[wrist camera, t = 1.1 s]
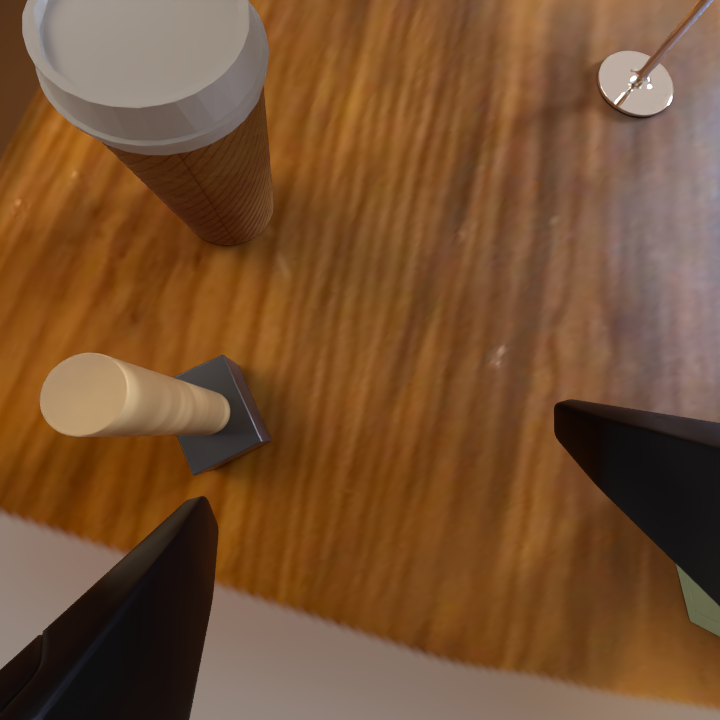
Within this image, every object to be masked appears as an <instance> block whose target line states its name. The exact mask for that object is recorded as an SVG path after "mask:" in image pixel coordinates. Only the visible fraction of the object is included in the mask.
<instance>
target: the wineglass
mask: <svg viewBox="0 0 720 720" xmlns="http://www.w3.org/2000/svg"><path fill="white" fill-rule="evenodd" d="M712 1H713V0H698V1H697V2H696V3H695V4H694V6H693V7H692V8H691V9H690V11H689V12H688V13H687V14H686V15H685V17H684V18H683V19H682V20H681V21H680V23H679V24H678V25H677V26H676V27H675V29H674V30H673V31H672V32H671V33H670V35H669V36H668V37H667V38H666V39H665V41H664V42H663V43H662V44H661V45H660V47H659V48H658V49H657V50H656V51H655V52H654V54H653V55H652V56H651V57H650V56H648V55H645V54H643V53H639V52H635V51H622V52H617V53H615V54H612V55H611V56H609V57H608V58H607V59H605V61H604V62H603V63H602V64H601V66H600V68H599V71H598V75H597V81H598V86H599V89H600V92H601V93H602V95H603V97H604V98H605V99H606V100H607V102H608V103H609V104H610V105H612V106H613V107H614V108H616V109H617V110H619V111H621V112H623V113H625V114H628V115H631V116H637V117H647V116H652V115H655V114H657V113H659V112H661V111H662V110H664V109H665V108H666V107H667V106H668V104H669V103H670V101H671V99H672V96H673V83H672V80H671V78H670V75H669V74H668V72H667V71H666V69H665V68H664V67H663V66H662V65H661V64H660V62H661V61H662V59H663V58H664V57H665V56H666V55H667V53H668V52H669V51H670V50H671V49H672V47H673V46H674V45H675V44H676V43H677V42H678V40H679V39H680V38H681V37H682V36H683V35H684V33H685V32H686V31H687V30H688V29H689V28H690V27H691V25H692V24H693V23H694V22H695V21H696V20H697V18H698V17H699V16H700V15H701V14H702V13H703V12H704V10H705V9H706V8H707V7H708V6H709V5H710V4H711V2H712Z"/></svg>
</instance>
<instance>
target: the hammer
mask: <svg viewBox="0 0 720 720" xmlns="http://www.w3.org/2000/svg"><path fill="white" fill-rule="evenodd" d="M40 408H41V412H42V414H43V416H44V418H45V420H46V422H47V423H48V424H49V425H50V426H51V427H52V428H53V429H55V430H56V431H58V432H59V433H62V434H64V435H68V436H73V437H109V436H177V437H178V440H179V442H180V445H181V447H182V449H183V452H184V454H185V457H186V459H187V462H188V464H189V467H190V469H191V472H192V474H193V475H198V474H201V473H205V472H208V471H212V470H214V469H216V468H218V467H220V466H222V465H224V464H226V463H228V462H230V461H232V460H234V459H236V458H238V457H240V456H242V455H244V454H246V453H248V452H250V451H252V450H254V449H256V448H258V447H260V446H262V445H264V444H266V443H268V442H270V441H271V438H270V435H269V433H268V431H267V429H266V427H265V424H264V422H263V420H262V418H261V415H260V413H259V411H258V409H257V407H256V404H255V402H254V400H253V398H252V395H251V393H250V391H249V389H248V387H247V384H246V382H245V380H244V378H243V375H242V373H241V371H240V369H239V367H238V365H237V364H236V363H235V362H233V361H232V360H230V359H229V358H227V357H226V356H224V355H221V356H219V357H217V358H214V359H212V360H210V361H208V362H206V363H203V364H201V365H199V366H197V367H194V368H192V369H190V370H188V371H186V372H183V373H181V374H179V375H177V376H175V377H169V376H166V375H163V374H160V373H157V372H154V371H151V370H148V369H145V368H142V367H139V366H136V365H133V364H130V363H127V362H124V361H121V360H118V359H115V358H112V357H109V356H106V355H103V354H99V353H82V354H78V355H74V356H72V357H69V358H67V359H65V360H64V361H62V362H61V363H59V364H58V365H57V366H56V367H55V368H54V369H53V370H52V371H51V372H50V373H49V375H48V376H47V378H46V379H45V381H44V383H43V386H42V389H41V393H40Z"/></svg>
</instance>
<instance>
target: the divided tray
mask: <svg viewBox="0 0 720 720" xmlns="http://www.w3.org/2000/svg"><path fill="white" fill-rule="evenodd" d="M676 567H677V571H678V575H679V579H680V583H681V587H682V591H683V595H684V599H685V603H686V607H687V611H688V615H689V619H690V621H691V622H693V623H695V624H696V625H699V626H700V627H702V628H704V629H706V630H708V631H710V632H711V633H713V634H715V635H717V636H719V637H720V606H719V605H718V604H717V603H716V602H715V601H714V600H712V599H711V598H710V597H709V596H708V595H707V594H706V593H705V592H704V591H703V590H702V589H701V588H700V587H699V586H698V585H697V584H696V583H695V582H694V581H693V580H692V579H691V578H690V577H689V576H688V575H687V574H686V573H685V572H684V571H683V570H682V569H681V568H680V567H679V566H678V565H677V564H676Z"/></svg>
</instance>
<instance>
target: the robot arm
mask: <svg viewBox="0 0 720 720" xmlns="http://www.w3.org/2000/svg"><path fill="white" fill-rule="evenodd" d="M554 432H555V435H556V438H557V439H558V441H559V442H560V443H561V444H562V446H563V447H564V448H565V449H566V450H567V451H568V453H569V454H570V455H571V456H572V457H573V459H574V460H575V461H576V462H577V463H578V464H579V466H580V467H581V468H582V469H583V470H584V472H585V473H586V474H587V475H588V476H589V477H590V479H591V480H592V481H593V482H594V483H595V484H596V485H597V486H598V487H599V488H600V489H601V490H602V492H603V493H604V494H605V495H606V496H607V497H608V498H610V499H611V500H612V501H613V502H614V503H615V504H616V505H617V506H618V507H619V508H620V509H621V510H622V511H623V512H624V513H625V514H626V515H627V516H628V517H629V518H630V519H631V520H632V521H633V522H634V523H635V524H636V525H637V526H638V527H639V528H640V529H641V530H642V531H643V532H644V533H645V534H646V535H647V536H648V537H649V538H650V539H651V540H652V541H653V542H654V543H655V544H656V545H657V546H658V547H659V548H660V549H662V550H663V551H664V552H665V553H666V554H667V555H668V556H669V557H670V558H671V559H672V560H673V561H674V562H675V563H676V564H677V565H678V566H679V567H680V568H681V569H682V570H683V571H684V572H685V573H686V574H687V575H688V576H689V577H690V578H691V579H692V580H693V581H694V582H695V583H696V584H697V585H698V586H699V587H700V588H701V589H702V590H703V591H704V592H705V593H706V594H707V595H708V596H709V597H710V598H711V599H712V600H714V601H715V602H716V603H717V604H718V605H719V606H720V423H716V422H710V421H704V420H697V419H691V418H685V417H679V416H673V415H666V414H660V413H654V412H648V411H641V410H635V409H629V408H623V407H617V406H610V405H604V404H598V403H592V402H586V401H579V400H573V399H570V400H566V401H562V402H558V403H557V404H556V405H555V407H554ZM217 545H218V525H217V521H216V519H215V516H214V514H213V511H212V509H211V506H210V504H209V501H208V500H207V498H206V497H204V496H201V497H197V498H193V499H190V500H187V501H185V502H184V503H183V504H182V505H181V506H180V507H179V508H178V509H177V510H176V511H174V512H173V513H172V514H171V515H170V516H169V517H168V518H167V519H166V520H165V521H163V522H162V523H161V524H160V525H159V526H158V527H157V528H156V529H155V530H154V531H152V532H151V533H150V534H149V535H148V536H147V537H146V538H145V539H144V540H143V541H142V542H140V543H139V544H138V545H137V546H136V547H135V548H134V549H133V550H132V551H131V552H129V553H128V554H127V555H126V556H125V557H124V558H123V559H122V560H121V561H120V562H118V564H116V565H115V566H114V567H113V568H112V569H111V570H110V571H109V572H108V573H106V575H104V576H103V577H102V578H101V579H100V580H99V581H98V582H97V583H95V584H94V585H93V586H92V587H91V588H90V589H89V590H88V591H87V592H86V593H84V595H82V596H81V597H80V598H79V599H78V600H77V601H76V602H75V603H74V604H72V605H71V606H70V607H69V608H68V609H67V610H66V611H65V612H64V613H63V614H61V615H60V616H59V617H58V618H57V619H56V620H55V621H54V622H53V623H52V624H50V625H49V626H48V627H47V628H46V629H45V630H44V631H43V634H42V635H38V636H37V637H36V638H35V639H34V640H33V641H32V642H31V643H30V644H29V645H27V646H26V647H25V648H24V649H23V650H22V651H21V652H20V653H19V654H17V655H16V656H15V657H14V658H13V659H12V660H11V661H10V662H9V663H7V664H6V665H5V666H4V667H3V668H2V669H1V670H0V720H189V718H190V713H191V708H192V703H193V698H194V693H195V687H196V682H197V677H198V672H199V667H200V662H201V657H202V652H203V646H204V641H205V636H206V630H207V626H208V621H209V616H210V611H211V605H212V599H213V591H214V580H215V568H216V556H217Z"/></svg>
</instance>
